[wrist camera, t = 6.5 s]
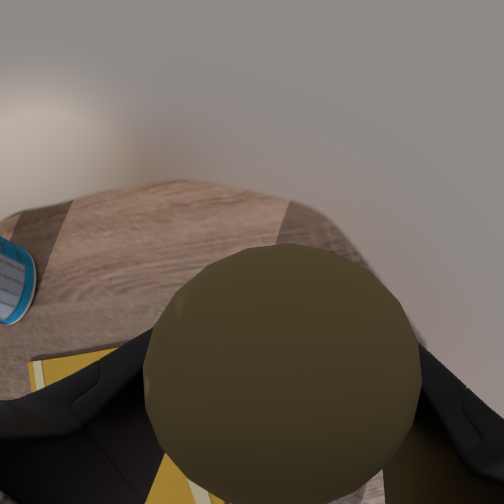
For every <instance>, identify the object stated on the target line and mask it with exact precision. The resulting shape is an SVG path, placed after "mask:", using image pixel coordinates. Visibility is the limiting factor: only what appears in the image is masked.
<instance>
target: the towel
mask: <svg viewBox="0 0 504 504" xmlns="http://www.w3.org/2000/svg"><path fill="white" fill-rule="evenodd" d="M117 348H119V347H117ZM117 348H112V349H107V350H101V351H96V352H90V353H85V354H79V355H73V356H67V357H61V358H54V359H48V360H39V361H33V362H28V369H29V376H30V383H31V390H32V392H35V391H37V390H39V389H41V388H44V387H46V386H48V385H50V384H52V383H55V382H57V381H59V380H61V379H63V378H65V377H67V376H69V375H71V374H73V373H75V372H77V371H79V370H81V369H82V368H84V367H86V366H88V365H90V364H91V363H93V362H95V361H96V360H100V358H102V357H103V356H105V355H107V354H109V353H110V352H112V351H114V350H115V349H117ZM144 504H226V503H225V501H223V500H221V499H219V498H218V497H216V496H214V495H213V494H211V493H209V492H208V491H206V490H204V489H203V488H201V487H200V486H198V485H196V484H195V483H193V482H192V481H190V480H189V479H188V478H187V477H186V476H185V475H184V474H183V473H182V472H181V471H180V469H179V468H178V467H177V466H176V465H175V464H174V462H173V461H172V460H171V459H170V458H169V456H168V455H167V454H166V453H165V455H164V457H163V460H162V462H161V465H160V467H159V470H158V472H157V475H156V477H155V480H154V482H153V485H152V488H151V490H150V493H149V495H148V498H147V500H146V503H144Z"/></svg>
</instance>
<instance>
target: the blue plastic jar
mask: <svg viewBox="0 0 504 504" xmlns="http://www.w3.org/2000/svg"><path fill="white" fill-rule="evenodd" d="M35 288H36V267H35V263H34V260H33V258H32V256H31V255H30V253H29V252H28V251H27V250H25V249H24V248H22V247H20V246H18V245H16V244H14V243H12V242H10V241H8V240H6V239H4V238H3V237H1V236H0V323H2V324H7V325H8V324H13V323H16V322H17V321H19V320H20V319H21V318H22V317H23V316H24V315H25V313H26V312H27V310H28V309H29V307H30V305H31V302H32V300H33V297H34V293H35Z"/></svg>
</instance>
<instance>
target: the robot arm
mask: <svg viewBox="0 0 504 504" xmlns="http://www.w3.org/2000/svg"><path fill="white" fill-rule="evenodd" d="M153 328H154V327H153ZM153 328H151V329H149V330H148V331H146V332H144V333H143V334H141V335H139V336H138V337H136V338H134V339H132V340H131V341H129V342H127V343H126V344H124V345H122V346H121V347H119V348H117V349H115V350H114V351H112V352H110V353H109V354H107V355H105V356H103V357H102V358H100V360H96V361H95V362H93V363H91V364H90V365H88V366H86V367H84V368H82V369H81V370H79V371H77V372H75V373H73V374H71V375H69V376H67V377H65V378H63V379H61V380H59V381H57V382H55V383H52V384H50V385H48V386H46V387H44V388H41V389H39V390H37V391H35V392H32V393H30V394H28V395H26V396H23V397H21V398H18V399H14V400H0V504H144V503H146V500H147V498H148V495H149V493H150V490H151V488H152V485H153V482H154V480H155V477H156V475H157V472H158V470H159V467H160V465H161V462H162V460H163V457H164V455H165V451H164V450H163V449H162V448H161V446H160V444H159V442H158V439H157V437H156V434H155V432H154V429H153V427H152V424H151V422H150V419H149V417H148V414H147V411H146V409H145V397H144V379H143V365H144V361H145V357H146V353H147V350H148V346H149V342H150V339H151V335H152V331H153ZM418 349H419V357H420V366H421V377H422V386H421V391H420V395H419V400H418V404H417V409H416V413H415V417H414V421H413V425H412V427H411V429H410V430H409V432H408V434H407V435H406V437H405V439H404V440H403V442H402V444H401V445H400V447H399V448H398V450H397V452H396V453H395V455H394V456H393V458H392V459H391V461H390V462H389V464H387V465H386V466H385V467H384V468H383V479H384V492H385V504H504V419H503V418H502V417H501V416H499V415H498V414H497V413H496V412H495V411H493V410H492V409H491V408H489V407H488V406H487V405H486V404H485V403H484V402H483V401H482V400H481V399H479V397H477V396H476V395H475V394H474V393H473V392H472V391H471V390H470V389H469V388H467V389H466V385H464V384H463V383H462V382H461V381H460V380H459V379H458V378H457V377H456V376H455V375H454V374H453V373H451V372H450V371H449V370H448V369H447V368H446V367H445V366H444V365H443V364H442V363H441V362H440V361H438V360H437V359H436V358H435V357H434V356H433V355H432V354H431V353H430V352H428V351H427V350H426V349H425V348H424V347H423V346H422V345H421V344H420V343H418Z"/></svg>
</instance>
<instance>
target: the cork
mask: <svg viewBox="0 0 504 504" xmlns="http://www.w3.org/2000/svg"><path fill="white" fill-rule="evenodd" d="M143 379H144V397H145V409H146V411H147V414H148V417H149V419H150V422H151V424H152V427H153V429H154V432H155V434H156V437H157V439H158V442H159V444H160V446H161V448H162V449H163V450H164V451H165V453H166V454H167V455H168V456H169V458H170V459H171V460H172V461H173V462H174V464H175V465H176V466H177V467H178V468H179V469H180V471H181V472H182V473H183V474H184V475H185V476H186V477H187V478H188V479H189V480H190V481H192V482H193V483H195V484H196V485H198V486H200V487H201V488H203V489H204V490H206V491H208V492H209V493H211V494H213V495H214V496H216V497H218V498H219V499H221V500H223V501H225V502H228V503H232V504H327V503H329V502H332V501H334V500H337V499H339V498H342V497H344V496H346V495H349V494H351V493H353V492H355V491H356V490H358V489H359V488H360V487H361V486H363V485H364V484H365V483H366V482H368V481H369V480H370V479H371V478H372V477H374V476H375V475H376V474H377V473H378V472H379V471H381V470H382V469H383V468H384V467H385V466H386V465H387V464H389V462H390V461H391V459H392V458H393V456H394V455H395V453H396V452H397V450H398V448H399V447H400V445H401V444H402V442H403V440H404V439H405V437H406V435H407V434H408V432H409V430H410V429H411V427H412V425H413V421H414V417H415V413H416V409H417V404H418V400H419V395H420V391H421V386H422V377H421V366H420V357H419V349H418V341H417V338H416V336H415V334H414V332H413V330H412V327H411V325H410V323H409V321H408V319H407V317H406V315H405V313H404V310H403V308H402V306H401V304H400V302H399V301H398V300H397V299H396V298H395V297H394V296H393V295H392V294H391V293H390V292H389V291H388V290H387V289H386V287H385V286H384V285H383V284H382V283H381V282H380V281H379V280H378V279H377V278H376V277H375V276H374V275H373V274H372V273H371V272H370V271H368V270H366V269H364V268H363V267H361V266H359V265H357V264H355V263H353V262H351V261H349V260H348V259H346V258H344V257H342V256H340V255H338V254H336V253H334V252H332V251H327V250H322V249H317V248H311V247H306V246H301V245H295V244H282V245H273V246H264V247H255V248H247V249H245V250H243V251H240V252H238V253H236V254H233V255H231V256H228V257H226V258H224V259H221V260H219V261H217V262H214V263H212V264H210V265H208V266H207V267H206V268H204V269H203V270H202V271H201V272H200V273H198V274H197V275H196V276H195V277H194V278H192V279H191V280H190V281H189V282H188V283H186V284H185V285H184V286H183V287H182V288H180V289H179V290H178V291H177V292H176V293H175V295H174V296H173V298H172V299H171V301H170V302H169V304H168V306H167V307H166V309H165V310H164V312H163V313H162V315H161V316H160V318H159V320H158V321H157V323H156V324H155V326H154V328H153V331H152V335H151V339H150V342H149V346H148V350H147V353H146V357H145V361H144V365H143Z"/></svg>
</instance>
